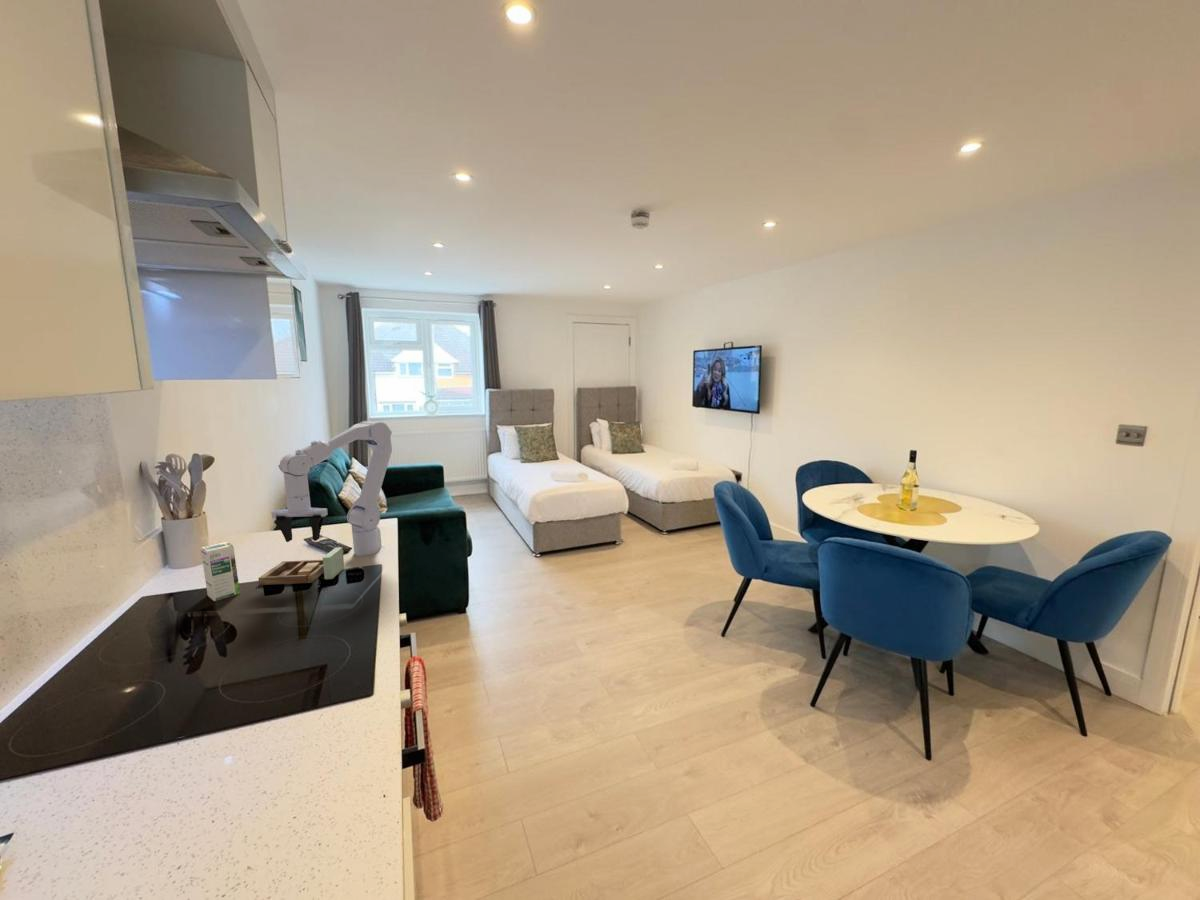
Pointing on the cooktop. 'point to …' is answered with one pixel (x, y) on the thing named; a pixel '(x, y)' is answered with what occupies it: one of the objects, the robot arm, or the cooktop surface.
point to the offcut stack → (309, 569)
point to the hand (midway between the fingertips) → (302, 540)
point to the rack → (290, 573)
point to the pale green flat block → (333, 563)
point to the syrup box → (220, 571)
